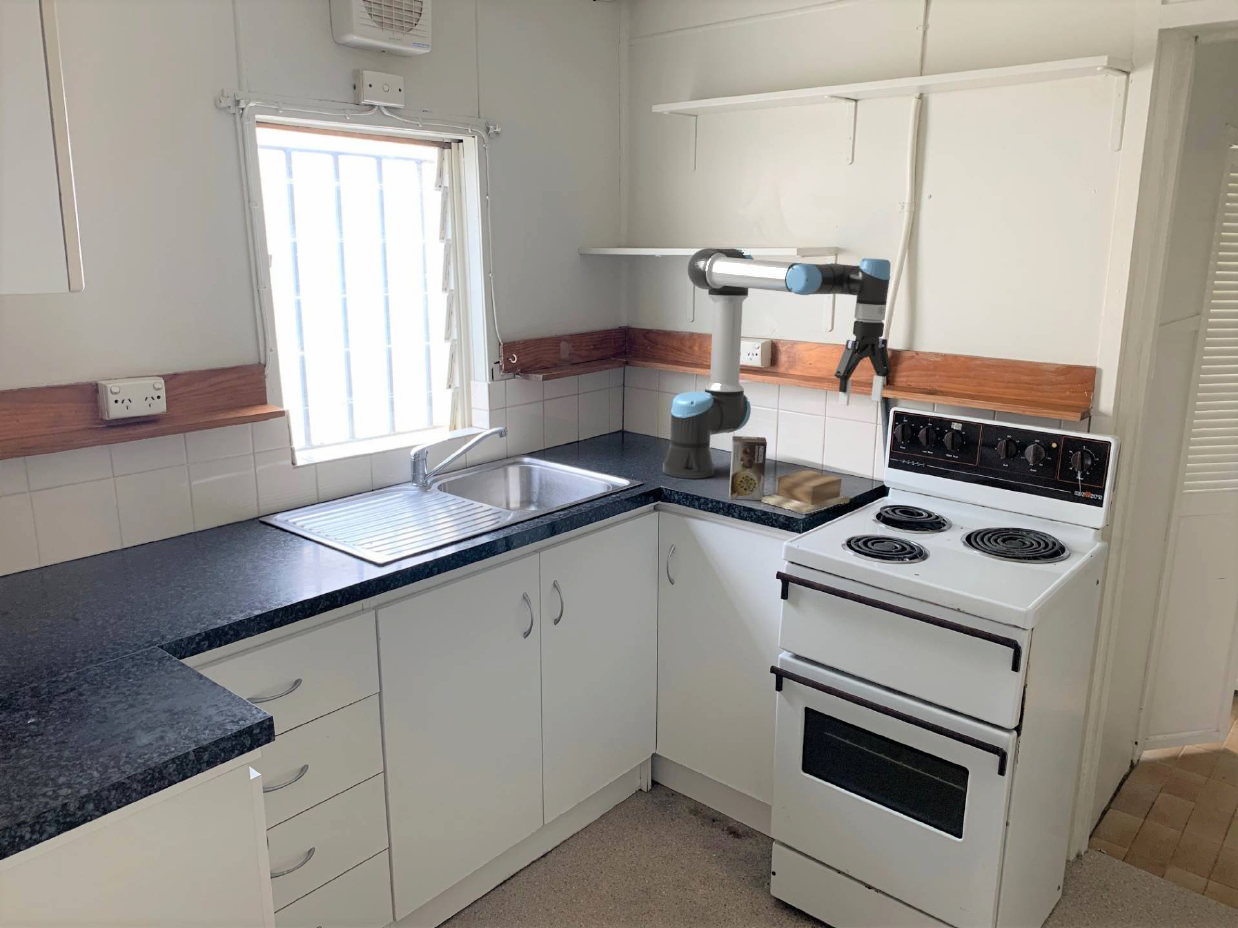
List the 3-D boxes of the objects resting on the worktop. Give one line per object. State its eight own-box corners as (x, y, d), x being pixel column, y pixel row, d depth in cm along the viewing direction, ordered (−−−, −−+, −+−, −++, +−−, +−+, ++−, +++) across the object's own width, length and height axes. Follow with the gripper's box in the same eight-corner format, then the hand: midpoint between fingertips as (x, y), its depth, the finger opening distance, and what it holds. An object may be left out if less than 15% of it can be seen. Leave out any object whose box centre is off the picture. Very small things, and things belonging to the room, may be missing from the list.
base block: (776, 495, 245) (778, 477, 244) (805, 487, 254) (807, 470, 252) (811, 504, 237) (812, 486, 236) (839, 496, 246) (841, 478, 245)
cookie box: (761, 494, 251) (766, 437, 247) (763, 501, 245) (768, 442, 241) (728, 492, 252) (732, 435, 248) (728, 498, 246) (733, 440, 242)
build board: (761, 502, 243) (761, 496, 243) (806, 490, 257) (806, 484, 256) (804, 515, 234) (805, 509, 233) (849, 502, 247) (849, 496, 247)
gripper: (850, 323, 223) (840, 409, 229) (911, 321, 239) (901, 401, 244) (825, 320, 229) (817, 403, 234) (886, 318, 244) (877, 396, 250)
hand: (860, 402), depth 239 cm, fingers open, 13 cm apart
